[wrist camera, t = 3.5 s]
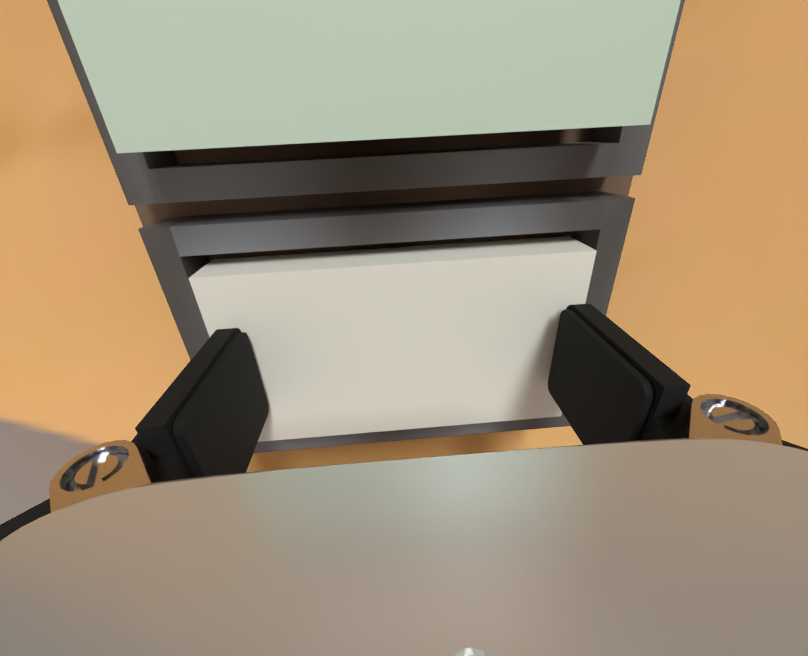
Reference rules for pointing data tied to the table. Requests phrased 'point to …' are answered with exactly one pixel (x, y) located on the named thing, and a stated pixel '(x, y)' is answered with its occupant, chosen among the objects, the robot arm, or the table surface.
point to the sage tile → (365, 68)
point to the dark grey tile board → (377, 207)
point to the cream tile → (400, 331)
